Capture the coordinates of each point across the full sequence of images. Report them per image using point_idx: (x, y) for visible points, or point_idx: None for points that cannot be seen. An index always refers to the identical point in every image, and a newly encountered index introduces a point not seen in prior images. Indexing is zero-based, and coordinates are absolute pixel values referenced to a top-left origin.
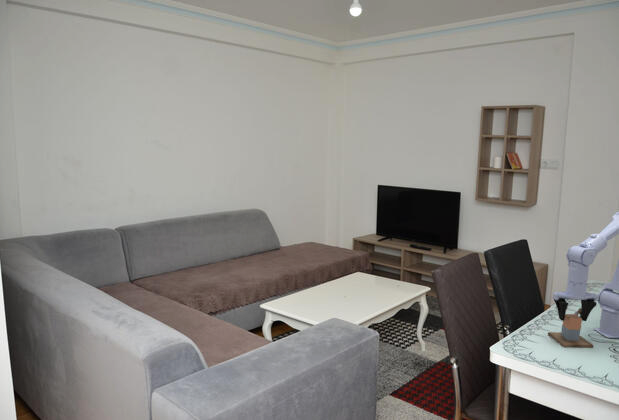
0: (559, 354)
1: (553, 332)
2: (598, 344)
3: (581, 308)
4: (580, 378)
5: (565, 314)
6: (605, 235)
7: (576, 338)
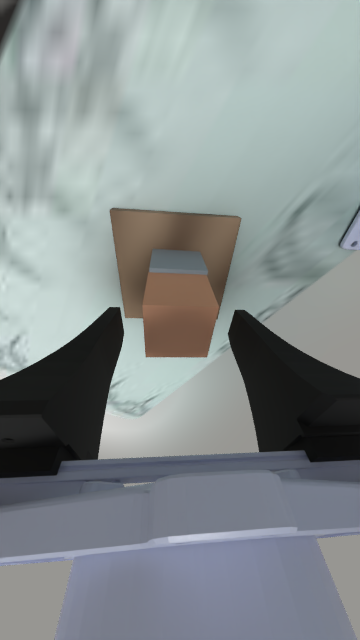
0: None
1: (134, 214)
2: (254, 292)
3: (264, 343)
4: None
5: (148, 313)
6: None
7: None
